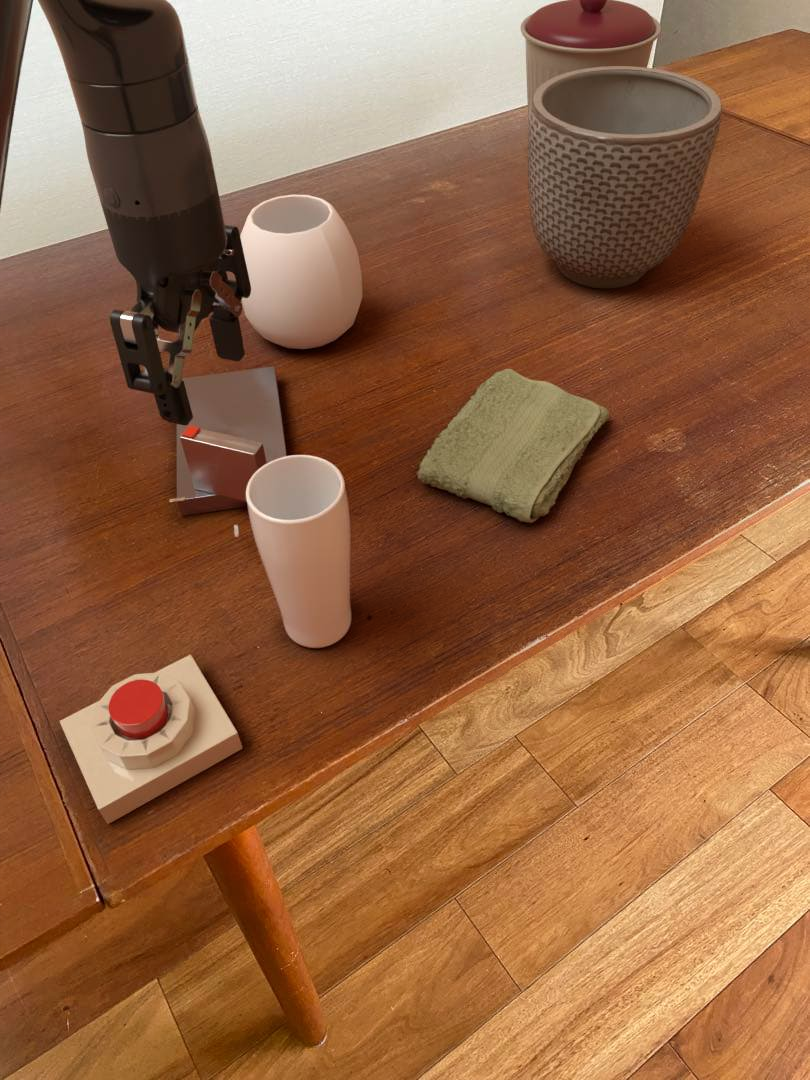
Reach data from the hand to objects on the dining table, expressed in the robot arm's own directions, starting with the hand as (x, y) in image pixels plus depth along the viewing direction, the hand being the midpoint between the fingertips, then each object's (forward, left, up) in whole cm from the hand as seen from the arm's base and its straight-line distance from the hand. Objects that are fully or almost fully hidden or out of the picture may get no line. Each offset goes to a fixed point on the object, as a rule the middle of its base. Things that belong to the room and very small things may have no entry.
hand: (206, 388), depth 68 cm
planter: (+32, -45, -14) cm, 57 cm away
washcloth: (+2, -26, -14) cm, 30 cm away
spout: (0, 0, -11) cm, 11 cm away
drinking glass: (-14, -6, -14) cm, 21 cm away
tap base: (+6, 0, -13) cm, 15 cm away
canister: (+63, -52, -14) cm, 83 cm away
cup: (+27, -9, -14) cm, 32 cm away
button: (-23, +7, -10) cm, 26 cm away
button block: (-23, +7, -13) cm, 27 cm away
